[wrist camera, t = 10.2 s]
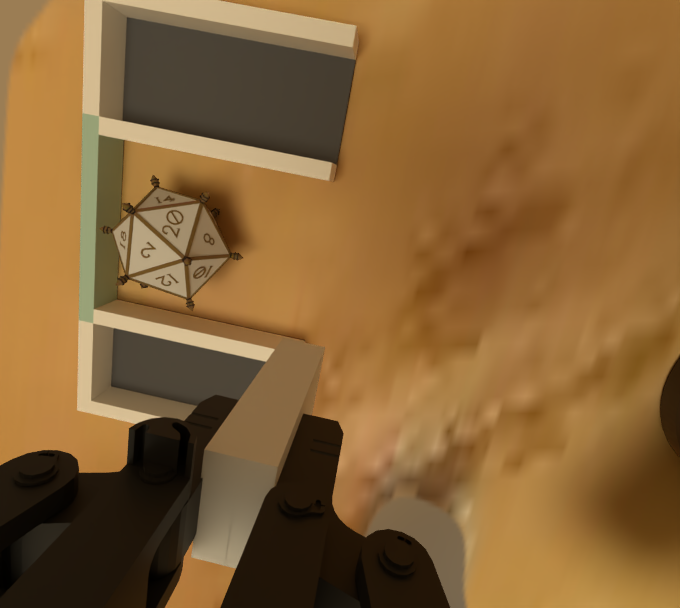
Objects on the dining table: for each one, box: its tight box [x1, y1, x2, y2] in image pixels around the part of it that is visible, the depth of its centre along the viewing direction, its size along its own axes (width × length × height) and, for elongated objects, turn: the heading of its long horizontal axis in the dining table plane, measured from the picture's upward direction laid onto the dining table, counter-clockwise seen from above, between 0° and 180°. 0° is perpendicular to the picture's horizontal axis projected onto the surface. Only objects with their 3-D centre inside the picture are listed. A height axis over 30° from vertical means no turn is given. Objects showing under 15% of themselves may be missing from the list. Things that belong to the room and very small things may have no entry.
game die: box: [99, 175, 243, 311], centre depth 30 cm, size 9×8×10 cm
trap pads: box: [111, 17, 356, 406], centre depth 34 cm, size 16×29×1 cm, turn 170°
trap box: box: [77, 0, 359, 424], centre depth 32 cm, size 18×32×3 cm, turn 170°
